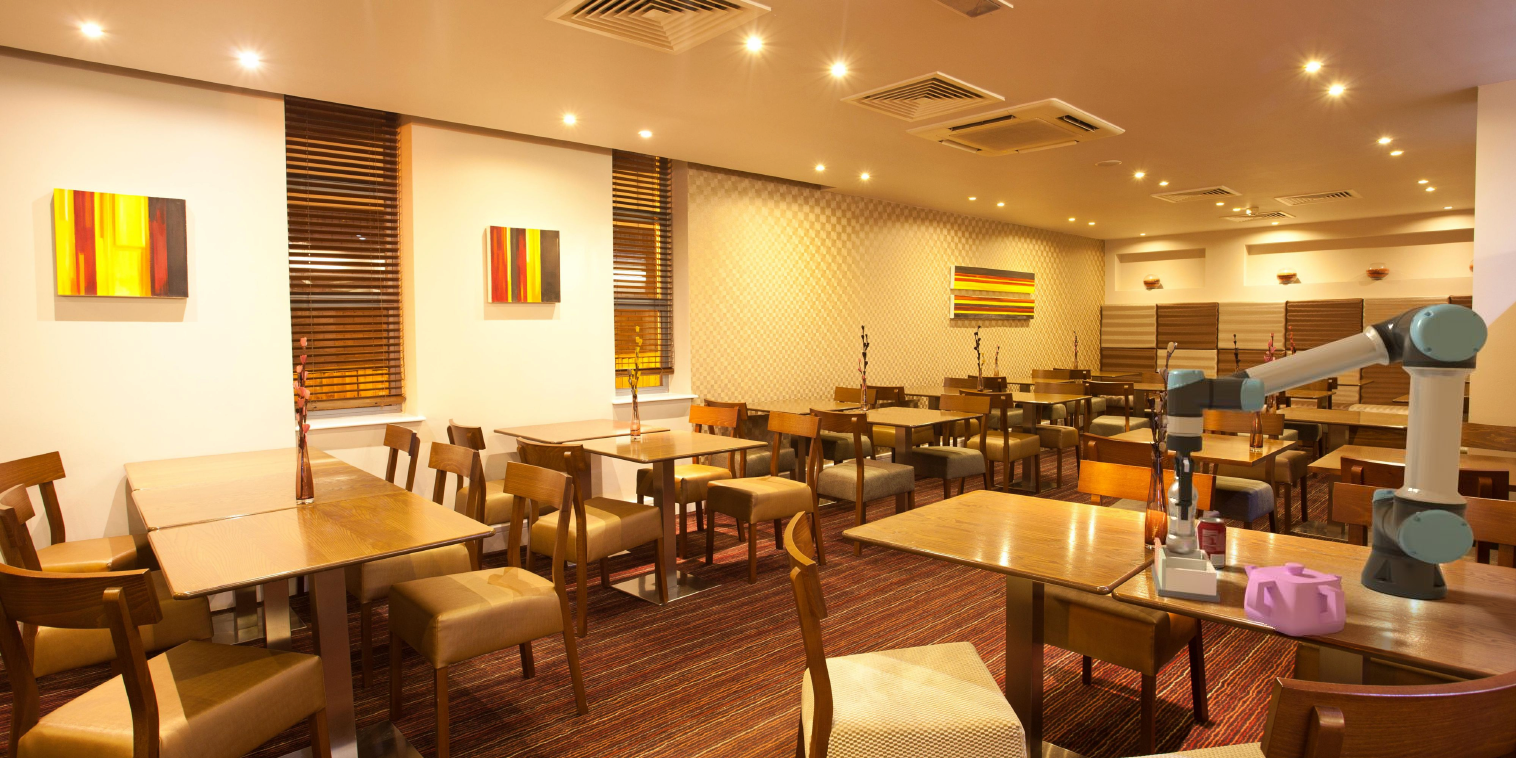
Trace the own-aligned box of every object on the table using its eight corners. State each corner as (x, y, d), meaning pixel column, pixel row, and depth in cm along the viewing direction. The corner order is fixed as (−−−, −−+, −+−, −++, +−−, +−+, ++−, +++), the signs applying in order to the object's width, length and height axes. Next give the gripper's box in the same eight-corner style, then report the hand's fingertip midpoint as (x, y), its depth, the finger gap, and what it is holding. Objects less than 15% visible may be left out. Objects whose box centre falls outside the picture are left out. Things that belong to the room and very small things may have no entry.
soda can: (1229, 570, 190) (1231, 522, 190) (1200, 568, 192) (1201, 521, 191) (1219, 562, 197) (1220, 516, 196) (1190, 561, 198) (1191, 515, 198)
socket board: (1206, 576, 185) (1207, 542, 185) (1219, 602, 166) (1220, 564, 166) (1151, 570, 190) (1152, 537, 190) (1157, 595, 171) (1158, 558, 171)
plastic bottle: (1159, 551, 184) (1161, 470, 183) (1181, 549, 186) (1183, 468, 185) (1181, 559, 178) (1183, 474, 177) (1203, 556, 180) (1205, 472, 179)
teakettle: (1245, 629, 151) (1247, 568, 150) (1242, 604, 166) (1243, 548, 165) (1353, 647, 142) (1355, 581, 142) (1339, 618, 157) (1341, 559, 156)
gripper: (1163, 429, 191) (1160, 520, 192) (1170, 437, 174) (1167, 537, 175) (1197, 430, 188) (1194, 522, 189) (1208, 439, 171) (1205, 541, 172)
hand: (1181, 529), depth 182 cm, fingers closed on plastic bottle, 6 cm apart
